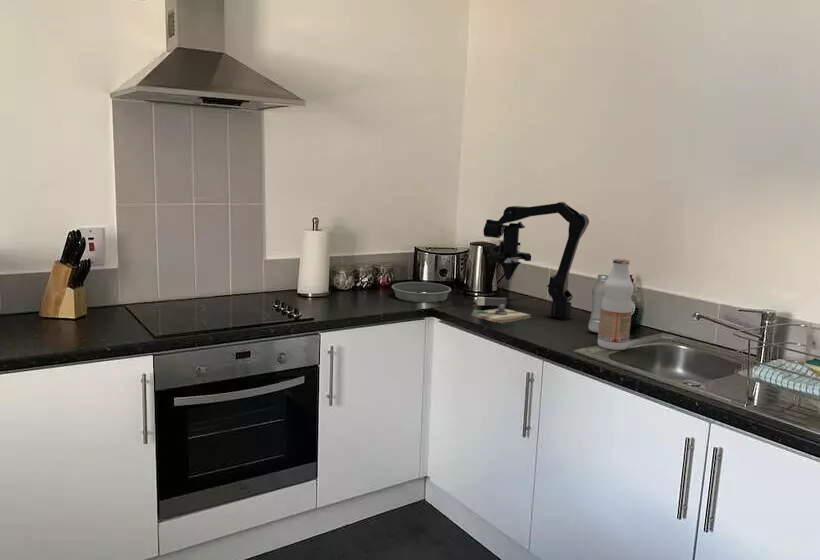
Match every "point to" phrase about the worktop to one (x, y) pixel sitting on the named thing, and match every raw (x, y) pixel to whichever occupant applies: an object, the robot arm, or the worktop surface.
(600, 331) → the fruit juice
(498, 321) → the beige flat board
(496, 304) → the peg
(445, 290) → the cake pan
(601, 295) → the plastic bottle
